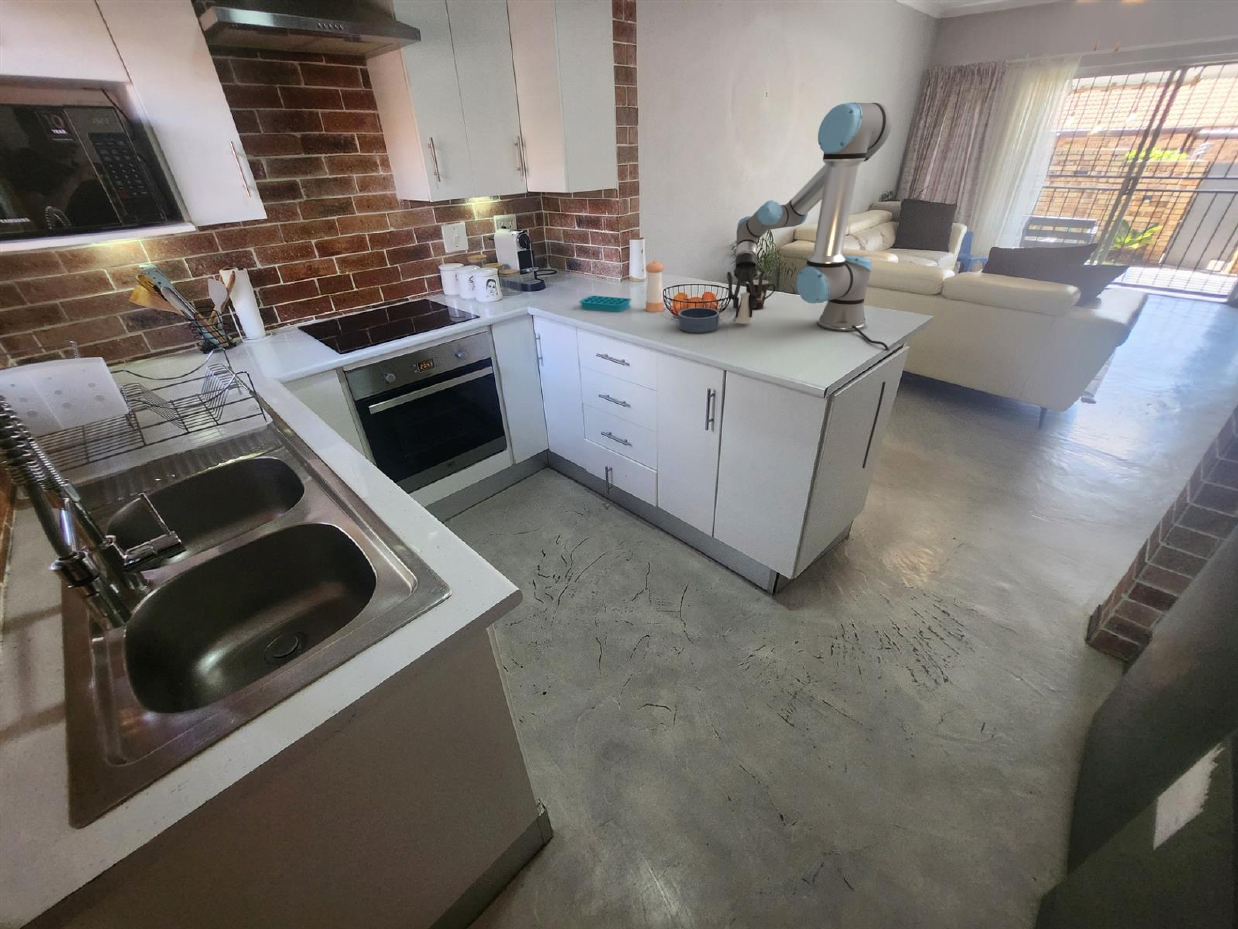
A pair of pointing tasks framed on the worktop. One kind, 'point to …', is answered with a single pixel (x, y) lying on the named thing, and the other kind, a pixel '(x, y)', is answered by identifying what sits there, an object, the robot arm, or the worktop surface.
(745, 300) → the flask
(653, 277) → the pepper shaker
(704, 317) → the bowl
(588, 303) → the ice cube tray
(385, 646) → the worktop surface
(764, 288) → the coffee mug
